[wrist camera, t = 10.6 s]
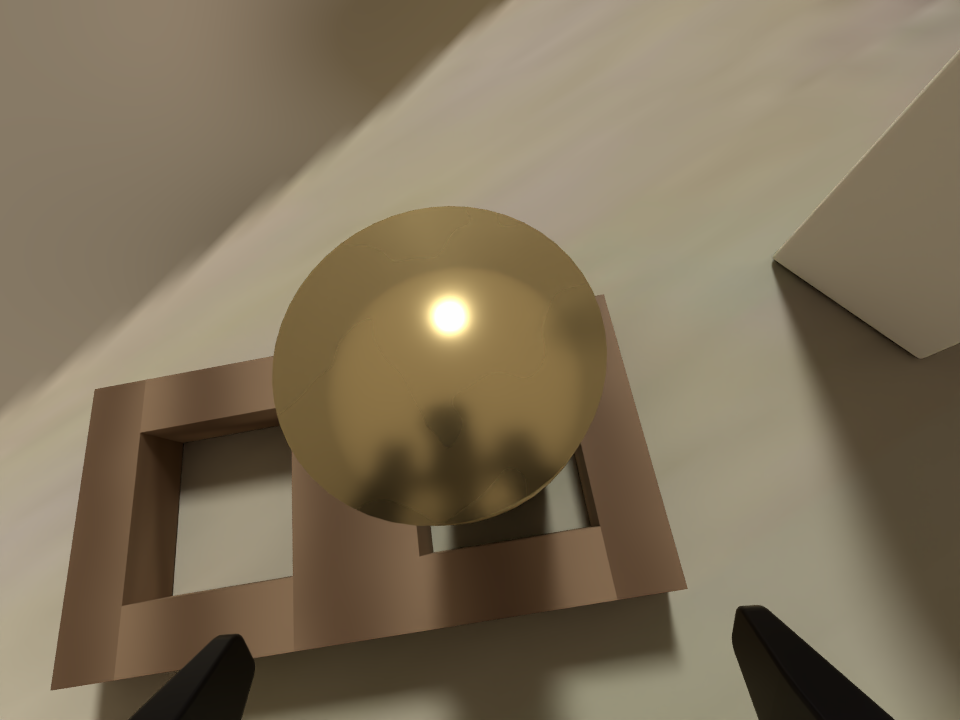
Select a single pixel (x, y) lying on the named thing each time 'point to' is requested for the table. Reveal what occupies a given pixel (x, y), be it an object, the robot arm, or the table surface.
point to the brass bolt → (439, 366)
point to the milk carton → (895, 227)
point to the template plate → (327, 539)
